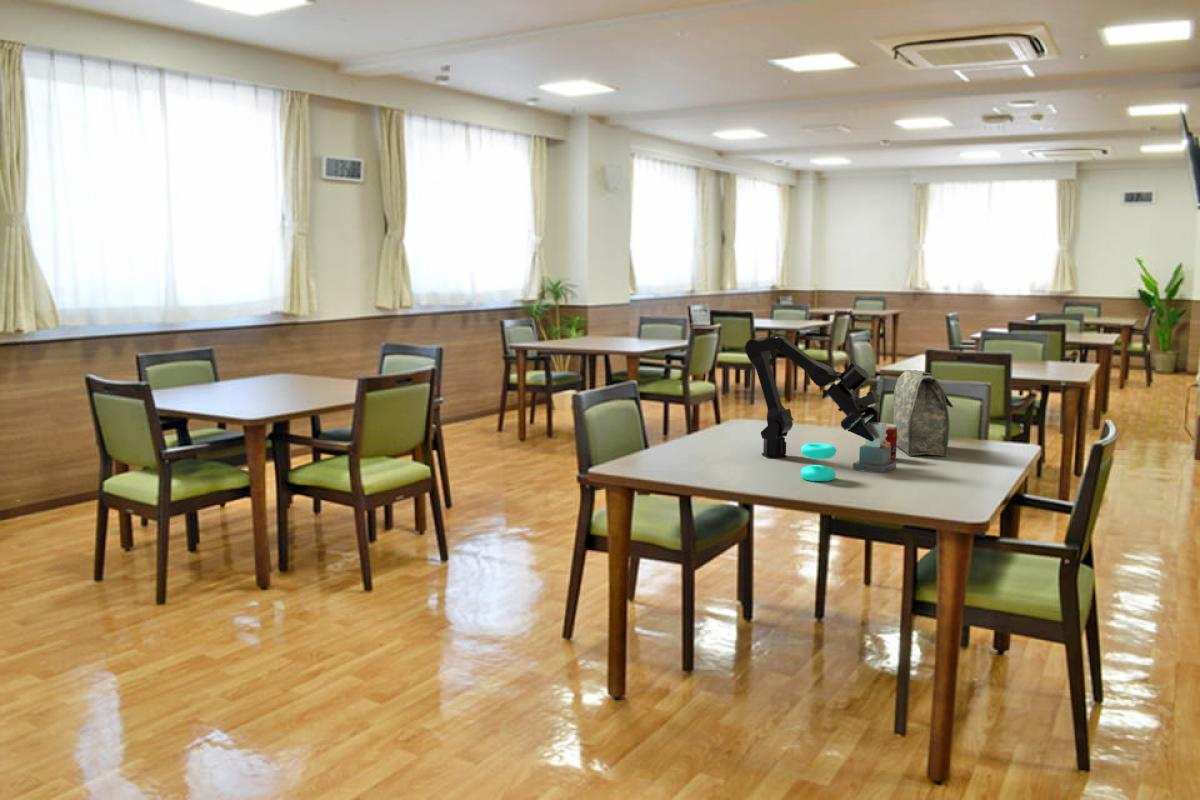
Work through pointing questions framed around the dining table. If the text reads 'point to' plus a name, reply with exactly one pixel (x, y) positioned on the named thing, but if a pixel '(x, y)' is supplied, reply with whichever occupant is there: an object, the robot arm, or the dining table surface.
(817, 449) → the donuts
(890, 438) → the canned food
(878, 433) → the column
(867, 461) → the stand base
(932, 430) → the bag
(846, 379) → the robot arm
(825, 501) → the dining table surface
